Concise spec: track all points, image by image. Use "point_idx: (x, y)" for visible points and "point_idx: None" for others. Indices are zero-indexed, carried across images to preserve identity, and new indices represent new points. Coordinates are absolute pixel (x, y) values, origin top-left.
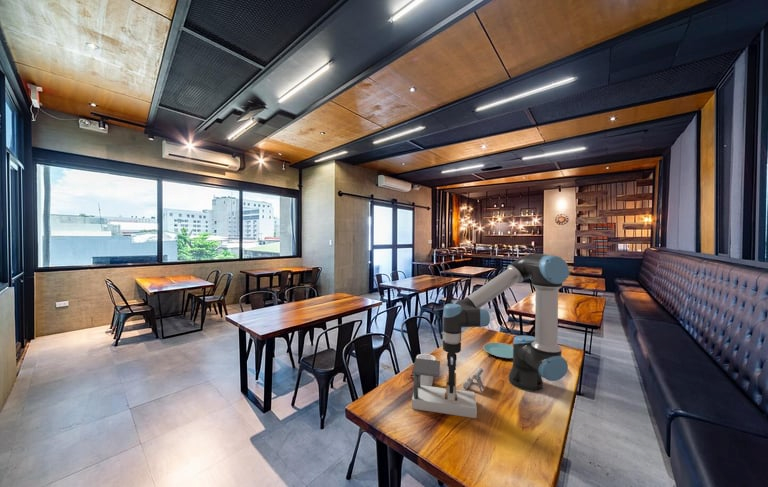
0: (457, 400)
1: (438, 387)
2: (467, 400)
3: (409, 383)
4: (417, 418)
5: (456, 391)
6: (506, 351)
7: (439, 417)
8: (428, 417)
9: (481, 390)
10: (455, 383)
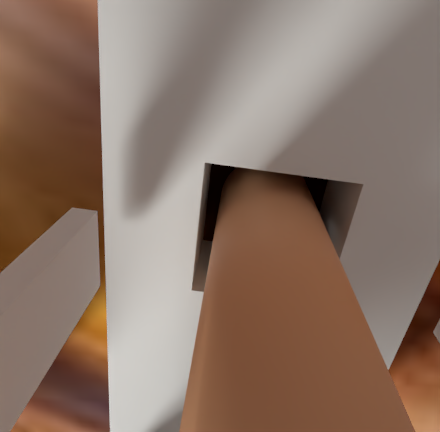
0: (353, 182)
1: (107, 333)
2: (356, 38)
3: (26, 427)
4: (417, 416)
5: (142, 161)
6: None
7: (423, 301)
8: (414, 363)
9: None
10: (364, 348)
